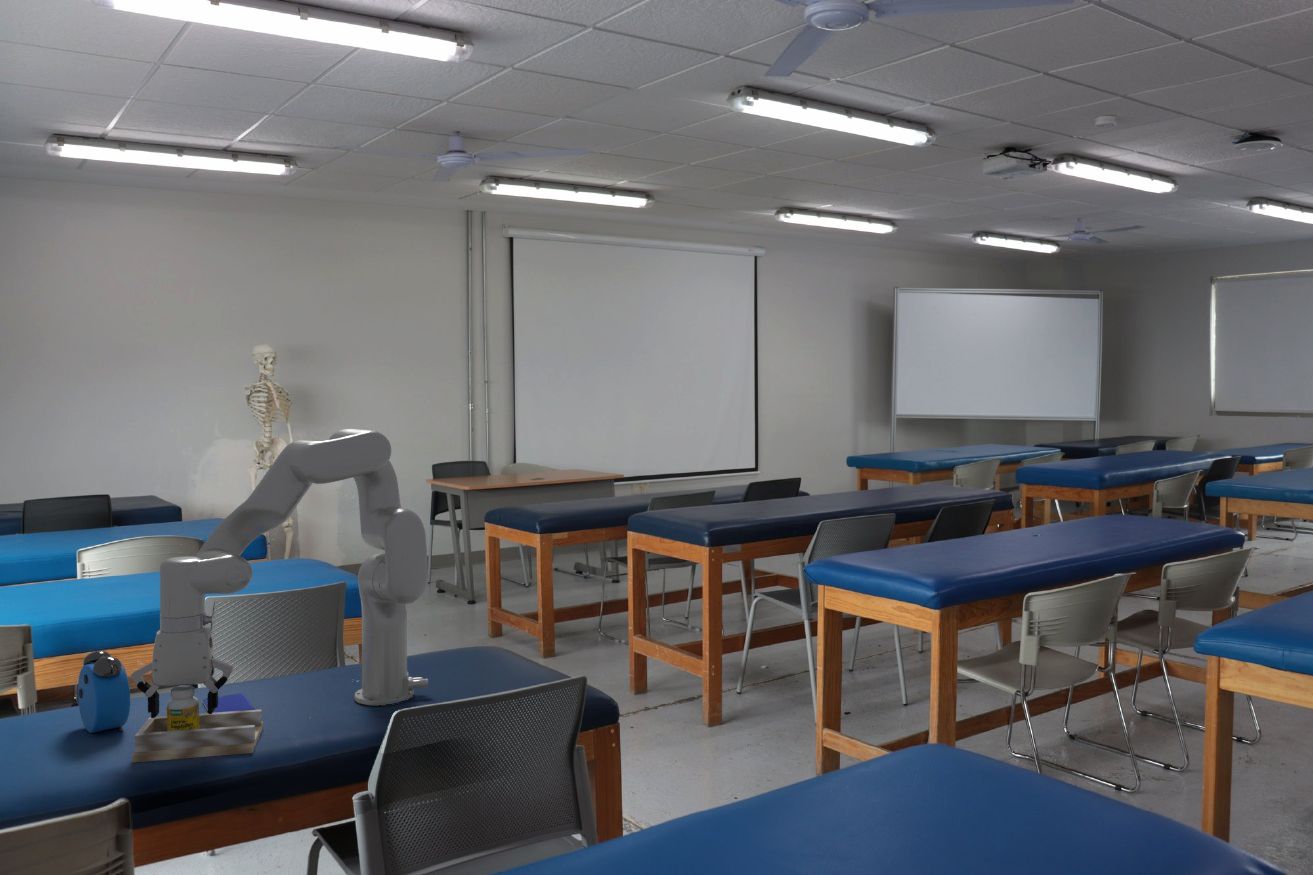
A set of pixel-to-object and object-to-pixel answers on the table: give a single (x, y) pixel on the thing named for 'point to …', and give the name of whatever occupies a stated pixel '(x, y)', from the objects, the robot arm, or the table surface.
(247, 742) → the rail holder
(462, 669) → the table surface
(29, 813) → the table surface
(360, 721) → the table surface
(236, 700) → the hard drive
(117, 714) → the alarm clock
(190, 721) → the supplement bottle
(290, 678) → the table surface
